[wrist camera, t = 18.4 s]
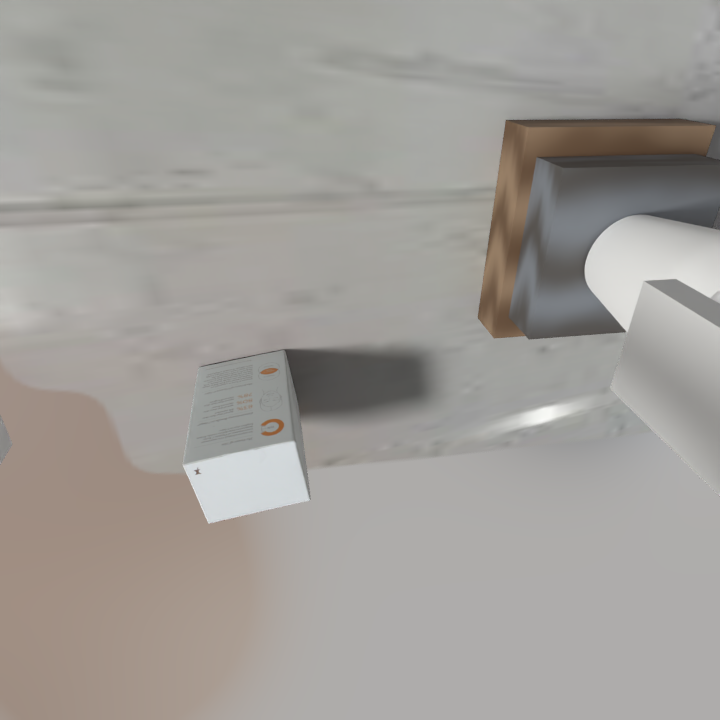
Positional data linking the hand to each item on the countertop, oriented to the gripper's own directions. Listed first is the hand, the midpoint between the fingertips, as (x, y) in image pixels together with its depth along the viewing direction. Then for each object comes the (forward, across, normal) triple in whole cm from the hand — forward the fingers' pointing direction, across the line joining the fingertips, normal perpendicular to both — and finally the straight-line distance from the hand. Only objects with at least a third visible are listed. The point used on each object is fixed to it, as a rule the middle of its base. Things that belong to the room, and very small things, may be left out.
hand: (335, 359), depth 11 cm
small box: (+33, -4, -22) cm, 40 cm away
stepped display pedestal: (+33, +25, -8) cm, 42 cm away
